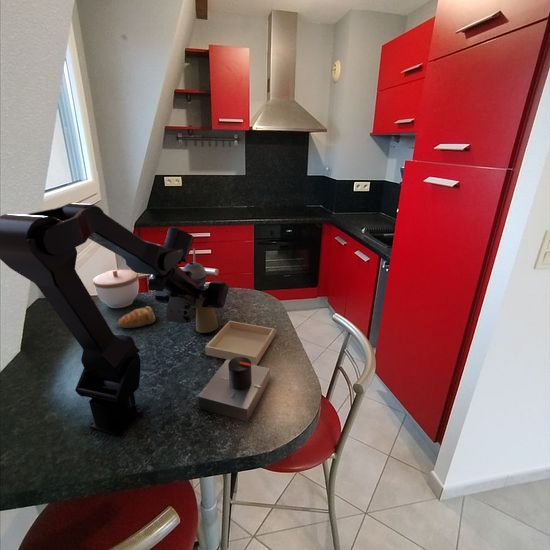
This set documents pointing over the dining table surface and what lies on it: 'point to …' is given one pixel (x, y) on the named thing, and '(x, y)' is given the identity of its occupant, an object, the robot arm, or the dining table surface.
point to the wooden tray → (240, 342)
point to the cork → (205, 318)
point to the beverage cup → (196, 271)
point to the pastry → (137, 318)
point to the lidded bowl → (117, 287)
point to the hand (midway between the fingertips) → (206, 304)
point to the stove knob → (240, 373)
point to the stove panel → (233, 393)
